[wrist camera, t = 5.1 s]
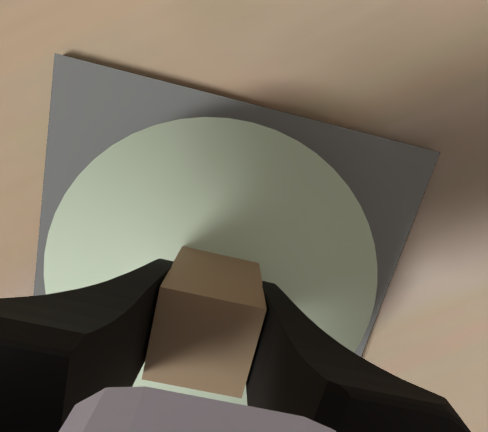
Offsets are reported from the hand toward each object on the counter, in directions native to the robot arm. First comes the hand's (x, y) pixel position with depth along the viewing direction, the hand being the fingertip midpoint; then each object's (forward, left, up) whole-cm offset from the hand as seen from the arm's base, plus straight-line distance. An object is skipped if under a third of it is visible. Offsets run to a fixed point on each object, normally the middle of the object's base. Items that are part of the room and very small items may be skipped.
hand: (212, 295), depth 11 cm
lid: (0, 0, -2) cm, 2 cm away
